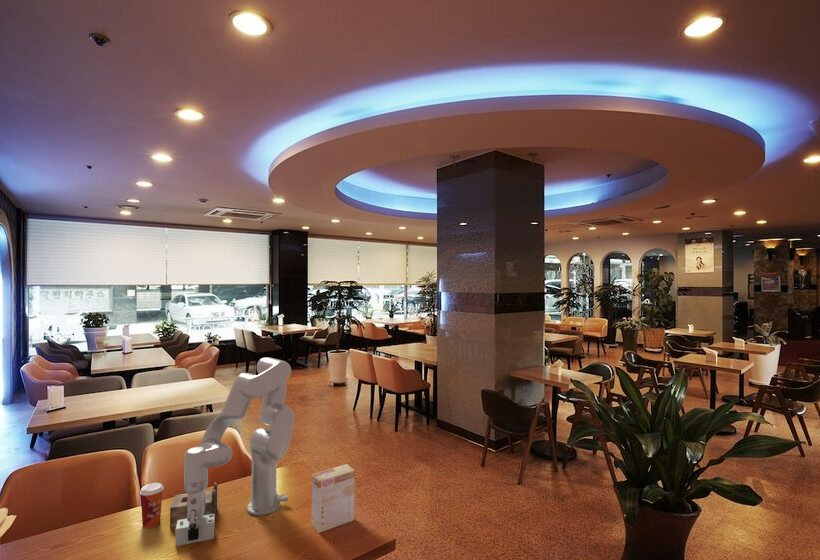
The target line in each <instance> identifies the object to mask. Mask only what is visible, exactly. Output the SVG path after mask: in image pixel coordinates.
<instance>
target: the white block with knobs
mask: <svg viewBox="0 0 820 560" xmlns="http://www.w3.org/2000/svg"><path fill="white" fill-rule="evenodd" d="M195 519H197V517H195ZM194 522H195V524H196V521H194ZM198 527H199V536H198V539H197V540H191V541H188V529H189V521H187V519H181V520H178V521H177V526H175V546H176V547H178V546H182V545H188V544H193V543H198V542H203V541H208V540H213V539H215V538H214V536H215V518H214V514H210V515H204V516H203V518H202V519H201V520H198Z"/></svg>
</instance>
